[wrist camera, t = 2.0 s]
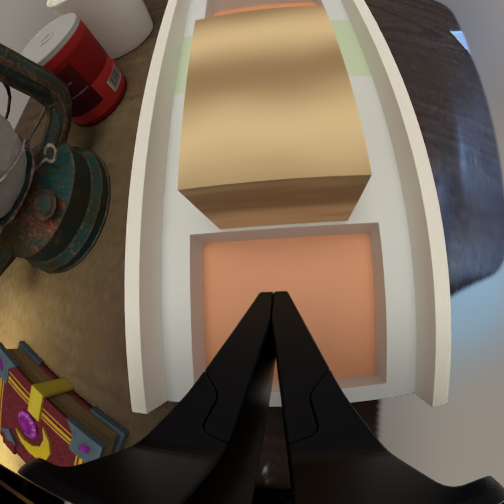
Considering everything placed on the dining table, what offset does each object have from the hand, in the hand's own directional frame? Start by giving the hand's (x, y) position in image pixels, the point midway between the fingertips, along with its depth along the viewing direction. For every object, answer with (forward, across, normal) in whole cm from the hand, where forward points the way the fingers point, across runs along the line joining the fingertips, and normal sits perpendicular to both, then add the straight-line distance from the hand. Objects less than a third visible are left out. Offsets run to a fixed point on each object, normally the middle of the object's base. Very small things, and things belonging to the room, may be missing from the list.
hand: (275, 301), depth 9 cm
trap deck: (+18, 0, -1) cm, 18 cm away
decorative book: (0, +23, +18) cm, 29 cm away
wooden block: (+14, 0, -1) cm, 14 cm away
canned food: (+24, +19, -7) cm, 31 cm away
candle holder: (+32, +18, -15) cm, 39 cm away
